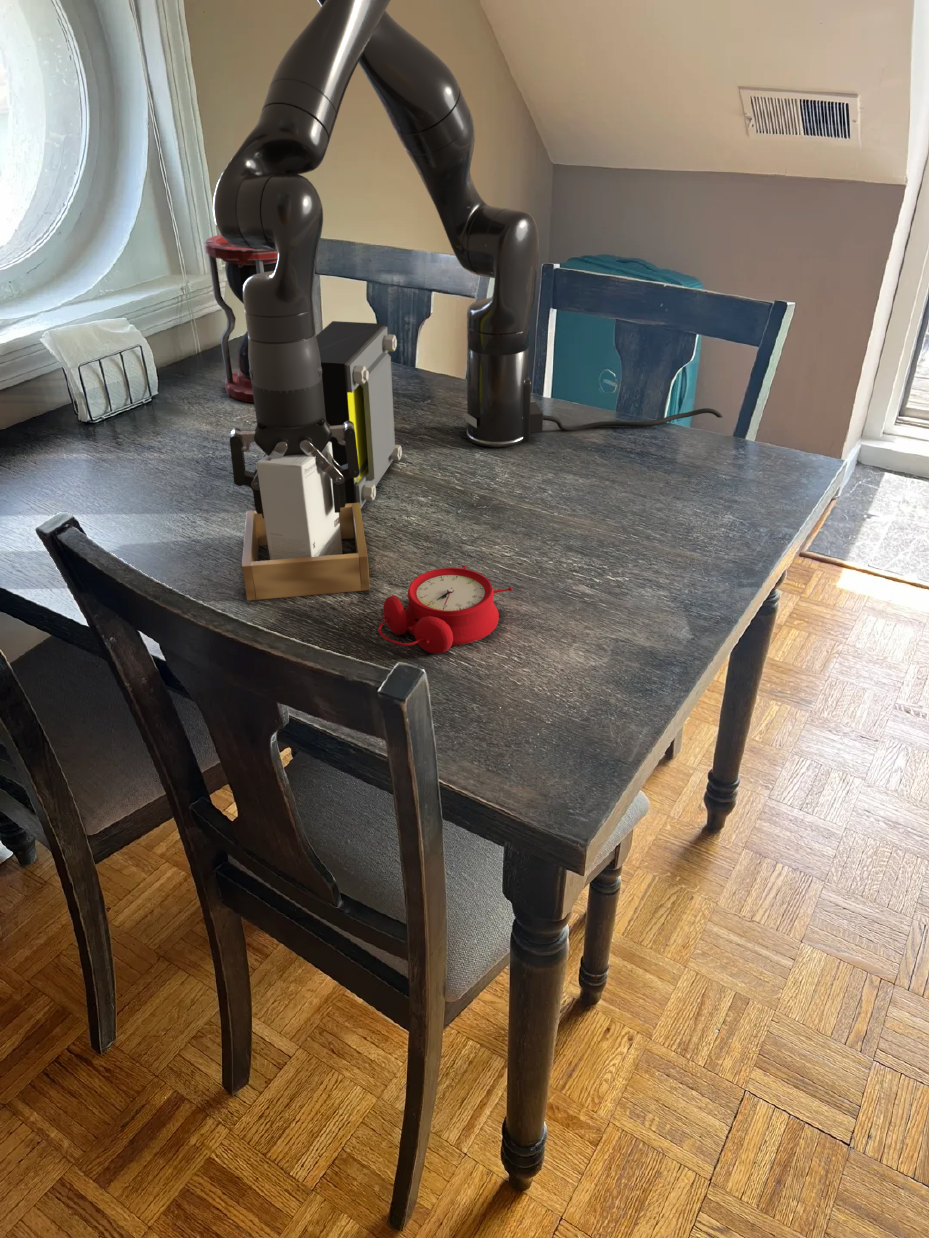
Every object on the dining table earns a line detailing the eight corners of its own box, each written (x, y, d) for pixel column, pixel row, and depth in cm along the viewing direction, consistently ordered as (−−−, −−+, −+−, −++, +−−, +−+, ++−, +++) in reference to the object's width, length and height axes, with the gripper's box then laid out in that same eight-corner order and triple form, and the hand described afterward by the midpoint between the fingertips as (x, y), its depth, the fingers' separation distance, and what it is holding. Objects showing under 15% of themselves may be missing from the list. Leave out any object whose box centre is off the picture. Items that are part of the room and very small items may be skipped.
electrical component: (371, 512, 126) (361, 364, 115) (299, 506, 128) (282, 360, 117) (404, 460, 140) (398, 324, 129) (339, 455, 142) (327, 321, 131)
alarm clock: (525, 586, 102) (430, 614, 92) (516, 638, 105) (421, 671, 94) (456, 554, 108) (358, 577, 98) (448, 604, 111) (352, 631, 100)
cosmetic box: (315, 586, 110) (302, 468, 102) (269, 578, 111) (252, 462, 103) (344, 552, 116) (334, 439, 108) (300, 546, 118) (287, 434, 110)
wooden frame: (361, 534, 121) (359, 502, 118) (370, 590, 109) (367, 556, 107) (250, 542, 119) (246, 510, 116) (247, 600, 107) (241, 566, 105)
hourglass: (224, 377, 172) (203, 231, 158) (313, 370, 175) (299, 226, 162) (227, 407, 159) (204, 252, 145) (323, 399, 162) (309, 246, 148)
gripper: (351, 361, 105) (360, 494, 114) (220, 368, 103) (240, 503, 112) (355, 384, 99) (364, 522, 108) (216, 391, 97) (237, 532, 106)
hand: (301, 512), depth 110 cm, fingers open, 8 cm apart
